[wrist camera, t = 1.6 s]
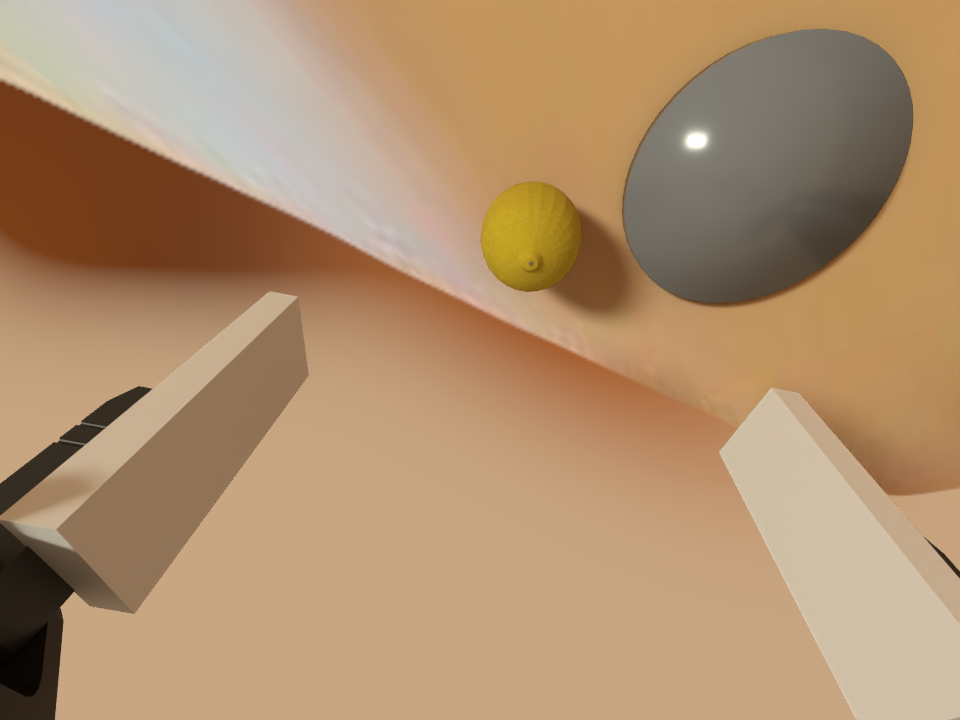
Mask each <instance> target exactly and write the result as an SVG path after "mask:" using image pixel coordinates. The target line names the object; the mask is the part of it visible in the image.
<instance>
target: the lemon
mask: <svg viewBox="0 0 960 720" xmlns="http://www.w3.org/2000/svg"><path fill="white" fill-rule="evenodd" d="M581 237H582V229H581V223H580V218H579V215H578V213H577V211H576V208H575V206H574V204H573V203H572V202H571V200H570V199H569V198H568V197H567V196H566V195H565V193H563V192H562V191H560V190H559V189H557V188H556V187H554V186H552V185H549V184H546V183H543V182H524V183H520V184H516V185H514V186H512V187H511V188H509V189H507V190H505V191H504V192H503V193H502V194H500V195H499V196H498V197H497V198H496V199H495V200H494V201H493V203H492V205H491V206H490V208H489V209H488V211H487V213H486V216H485V219H484V222H483V225H482V232H481V245H482V250H483V255H484V258H485V260H486V262H487V265H488V267H489V269H490V270H491V271H492V273H493V274H494V275H495V276H496V278H497V279H498V280H500V281H501V282H502V283H504V284H505V285H507V286H509V287H511V288H513V289H516V290H520V291H526V292H530V291H539V290H543V289H546V288H549V287H550V286H552V285H554V284H556V283H558V282H559V281H560V280H561V279H562V278H563V277H564V276H566V275H567V274H568V272H569V271H570V269H571V268H572V266H573V265H574V263H575V261H576V258H577V256H578V253H579V250H580V247H581Z"/></svg>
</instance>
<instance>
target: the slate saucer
mask: <svg viewBox="0 0 960 720" xmlns="http://www.w3.org/2000/svg"><path fill="white" fill-rule="evenodd" d="M912 129H913V104H912V99H911V94H910V89H909V86H908V84H907V81H906V79H905V77H904V74H903V72H902V70H901V69H900V68H899V66H898V65H897V63H896V62H895V60H894V59H893V58H892V57H891V56H890V55H889V54H888V53H887V52H886V51H885V50H883V49H882V48H881V47H880V46H879V45H877V44H875V43H873V42H872V41H870V40H868V39H866V38H864V37H862V36H859V35H855V34H852V33H849V32H846V31H838V30H829V29H814V30H801V31H795V32H790V33H785V34H780V35H775V36H770V37H767V38H764V39H761V40H758V41H755V42H752V43H749V44H747V45H745V46H743V47H741V48H739V49H737V50H735V51H733V52H731V53H728V54H727V55H725V56H724V57H722V58H720V59H719V60H717V61H716V62H714V63H712V64H711V65H709V66H708V67H706V68H705V69H704V70H703V71H701V72H700V73H699V74H697V75H696V76H695V77H694V78H692V79H691V80H690V81H689V82H688V83H687V84H686V85H685V86H684V87H683V88H682V89H680V90H679V91H678V92H677V93H676V94H675V95H674V96H673V97H672V99H671V100H670V101H669V102H668V103H667V104H666V106H665V107H664V108H663V109H662V110H661V111H660V113H659V114H658V116H657V117H656V118H655V120H654V121H653V123H652V124H651V126H650V127H649V128H648V130H647V132H646V134H645V135H644V137H643V139H642V141H641V143H640V144H639V146H638V148H637V151H636V153H635V155H634V158H633V160H632V162H631V165H630V169H629V172H628V175H627V179H626V183H625V188H624V194H623V208H622V215H623V226H624V231H625V235H626V239H627V242H628V244H629V247H630V249H631V252H632V253H633V255H634V257H635V258H636V260H637V262H638V263H639V265H640V267H641V268H642V270H643V271H644V272H645V273H646V274H647V275H648V277H649V278H650V279H652V280H653V281H654V282H655V283H656V284H658V285H659V286H660V287H662V288H663V289H665V290H667V291H668V292H670V293H672V294H675V295H677V296H680V297H682V298H686V299H689V300H693V301H699V302H707V303H728V302H739V301H744V300H749V299H754V298H757V297H761V296H764V295H768V294H771V293H773V292H776V291H778V290H781V289H783V288H786V287H788V286H790V285H792V284H794V283H796V282H798V281H800V280H802V279H804V278H805V277H807V276H809V275H810V274H812V273H814V272H815V271H817V270H819V269H820V268H821V267H823V266H824V265H825V264H827V263H828V262H830V261H831V260H832V259H834V258H835V257H836V256H837V255H838V254H840V253H841V252H842V251H843V250H844V249H846V248H847V247H848V246H849V245H850V244H851V243H852V242H853V241H854V240H855V239H856V238H857V237H858V236H859V235H860V234H861V233H862V232H863V231H864V229H865V228H866V227H867V226H868V225H869V223H870V222H871V221H872V220H873V219H874V217H875V216H876V215H877V213H878V212H879V211H880V209H881V208H882V206H883V205H884V203H885V202H886V200H887V199H888V197H889V195H890V193H891V192H892V190H893V188H894V186H895V184H896V183H897V181H898V178H899V176H900V173H901V171H902V169H903V166H904V164H905V161H906V157H907V154H908V150H909V147H910V143H911V136H912Z"/></svg>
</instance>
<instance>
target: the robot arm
mask: <svg viewBox="0 0 960 720" xmlns="http://www.w3.org/2000/svg"><path fill="white" fill-rule="evenodd" d="M307 377H308V367H307V360H306V353H305V345H304V338H303V330H302V322H301V315H300V307H299V300H298V297H297V296H291V295H286V294H281V293H276V292H269V293H267V294H266V295H265V296H264V297H262V298H261V299H260V300H259V301H258V302H256V303H255V304H254V305H253V306H252V307H250V308H249V309H248V310H247V311H246V312H244V313H243V314H242V315H241V316H240V317H238V318H237V319H236V320H235V321H234V322H232V323H231V324H230V325H229V326H228V327H226V328H225V329H224V330H223V331H222V332H220V333H219V334H218V335H217V336H216V337H214V338H213V339H212V340H211V341H210V342H208V343H207V344H206V345H205V346H204V347H202V348H201V349H200V350H199V351H198V352H196V353H195V354H194V355H193V356H192V357H190V358H189V359H188V360H187V361H186V362H184V363H183V364H182V365H181V366H179V367H178V368H177V369H176V370H175V371H174V372H172V373H171V374H170V375H169V376H167V377H166V378H165V379H164V380H163V381H162V382H160V383H159V384H158V385H157V386H155V387H154V388H153V389H151V388H146V387H140V386H138V387H136V388H134V389H132V390H130V391H128V392H126V393H123V394H122V395H119V396H117V397H115V398H113V399H111V400H109V401H107V402H106V403H104V404H103V405H102V406H100V407H99V408H98V409H97V410H95V411H94V412H93V413H91V414H90V415H89V416H87V417H86V418H85V419H84V420H82V423H81V425H76V426H74V427H73V428H72V429H71V430H69V431H68V432H67V433H65V434H64V435H63V436H61V437H60V440H59V442H58V443H55V442H54V443H52V444H51V445H50V446H49V447H47V448H46V449H45V450H43V451H42V452H41V453H39V454H38V455H37V456H36V457H34V458H33V459H32V460H30V461H29V462H28V463H26V464H25V465H24V466H23V467H21V468H20V469H19V470H17V471H16V472H15V473H14V474H12V475H11V476H10V477H8V478H7V479H6V480H5V481H3V482H2V483H1V484H0V720H55V711H56V699H57V687H58V677H59V666H60V654H61V643H62V632H63V617H62V612H61V609H60V607H61V606H62V605H63V604H64V602H65V601H66V600H67V599H68V598H69V597H70V596H71V594H72V593H73V592H75V593H76V594H77V595H79V596H80V597H81V598H82V599H83V600H84V601H85V602H86V603H87V604H88V605H89V606H93V607H98V608H104V609H110V610H115V611H121V612H127V613H133V614H135V612H136V611H137V610H138V608H139V607H140V605H141V604H142V603H143V601H144V600H145V599H146V597H147V596H148V595H149V593H150V592H151V590H152V589H153V588H154V586H155V585H156V584H157V582H158V581H159V579H160V578H161V577H162V575H163V574H164V573H165V571H166V570H167V569H168V567H169V566H170V564H171V563H172V561H173V560H174V559H175V557H176V556H177V555H178V553H179V552H180V551H181V549H182V548H183V546H184V545H185V544H186V542H187V541H188V540H189V538H190V537H191V536H192V534H193V533H194V532H195V530H196V529H197V527H198V526H199V525H200V523H201V522H202V521H203V519H204V518H205V516H206V515H207V514H208V512H209V511H210V509H211V508H212V507H213V506H214V504H215V503H216V501H217V500H218V499H219V497H220V496H221V495H222V493H223V492H224V490H225V489H226V488H227V486H228V485H229V484H230V482H231V481H232V480H233V478H234V477H235V475H236V474H237V473H238V471H239V470H240V468H241V467H242V466H243V464H244V463H245V462H246V460H247V459H248V458H249V456H250V455H251V454H252V452H253V451H254V449H255V448H256V447H257V445H258V444H259V443H260V441H261V440H262V438H263V437H264V436H265V434H266V433H267V432H268V430H269V429H270V427H271V426H272V425H273V423H274V422H275V421H276V419H277V418H278V416H279V415H280V414H281V412H282V411H283V410H284V408H285V407H286V406H287V404H288V403H289V401H290V400H291V399H292V397H293V396H294V395H295V393H296V392H297V391H298V389H299V388H300V386H301V385H302V384H303V382H304V381H305V380H306V378H307ZM719 454H720V456H721V458H722V460H723V462H724V464H725V466H726V468H727V469H728V472H729V473H730V475H731V477H732V479H733V481H734V483H735V485H736V487H737V489H738V491H739V493H740V495H741V497H742V499H743V501H744V503H745V505H746V507H747V508H748V510H749V512H750V514H751V516H752V518H753V520H754V522H755V524H756V526H757V528H758V530H759V532H760V534H761V536H762V538H763V540H764V542H765V543H766V545H767V547H768V549H769V551H770V553H771V555H772V557H773V559H774V561H775V563H776V565H777V567H778V568H779V571H780V573H781V575H782V576H783V578H784V580H785V582H786V584H787V586H788V588H789V590H790V592H791V594H792V596H793V598H794V600H795V602H796V604H797V606H798V608H799V609H800V611H801V613H802V615H803V617H804V619H805V621H806V623H807V625H808V627H809V629H810V631H811V633H812V635H813V636H814V639H815V641H816V642H817V644H818V646H819V648H820V650H821V652H822V654H823V656H824V658H825V660H826V662H827V664H828V666H829V668H830V669H831V672H832V673H833V675H834V677H835V679H836V681H837V683H838V685H839V687H840V689H841V691H842V693H843V695H844V697H845V699H846V701H847V703H848V705H849V706H850V708H851V710H852V712H853V714H854V716H855V718H856V720H960V571H959V570H958V569H957V568H956V567H955V566H954V565H953V563H952V562H951V561H950V560H949V559H948V558H947V557H946V555H945V554H944V553H942V552H941V551H940V550H939V549H938V548H937V547H935V546H934V545H933V544H932V543H931V542H929V541H928V540H927V539H926V538H925V537H923V536H922V535H921V533H920V532H919V531H918V530H917V529H916V528H915V527H914V525H913V524H912V523H911V522H910V521H909V520H908V518H907V517H906V516H905V515H904V514H903V513H902V512H901V510H900V509H899V508H898V507H897V506H896V505H895V503H894V502H893V501H892V500H891V499H890V498H889V496H888V495H887V494H886V493H885V492H884V491H883V490H882V488H881V487H880V486H879V485H878V484H877V483H876V481H875V480H874V479H873V478H872V477H871V476H870V475H869V473H868V472H867V471H866V470H865V469H864V468H863V466H862V465H861V464H860V463H859V462H858V461H857V460H856V458H855V457H854V456H853V455H852V454H851V453H850V451H849V450H848V449H847V448H846V447H845V446H844V445H843V443H842V442H841V441H840V440H839V439H838V438H837V436H836V435H835V434H834V433H833V432H832V431H831V430H830V428H829V427H828V426H827V425H826V424H825V423H824V421H823V420H822V419H821V418H820V417H819V416H818V415H817V413H816V412H815V411H814V410H813V409H812V408H811V406H810V405H809V404H808V403H807V402H806V401H805V400H804V398H803V397H802V396H801V395H800V394H799V393H797V392H792V391H787V390H782V389H777V388H771V389H770V390H769V391H768V393H767V394H766V395H765V396H764V398H763V399H762V400H761V401H760V402H759V404H758V405H757V406H756V407H755V409H754V410H753V411H752V412H751V413H750V415H749V416H748V417H747V418H746V419H745V421H744V422H743V423H742V424H741V426H740V427H739V428H738V429H737V430H736V432H735V433H734V434H733V435H732V437H731V438H730V439H729V440H728V441H727V443H726V444H725V445H724V446H723V448H722V449H721V450H720V451H719Z"/></svg>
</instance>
